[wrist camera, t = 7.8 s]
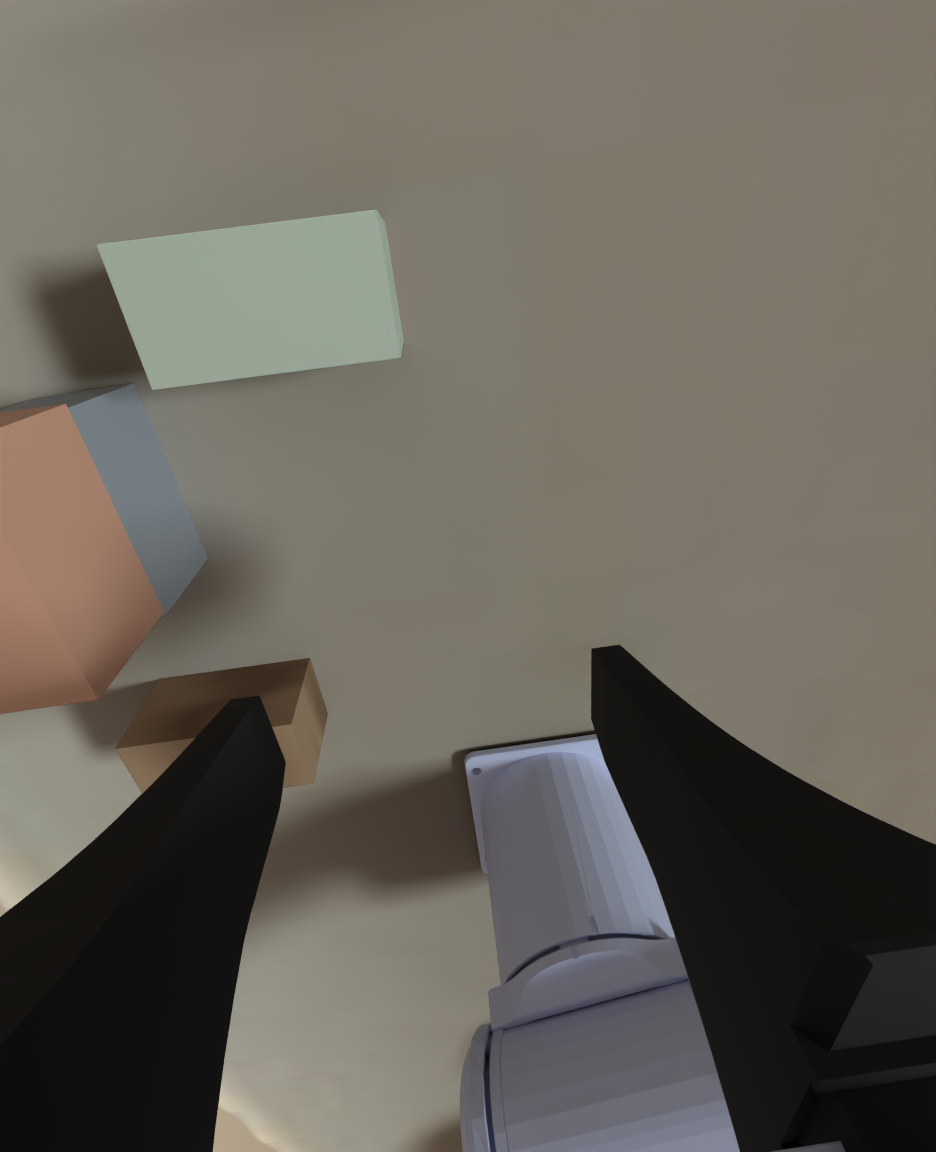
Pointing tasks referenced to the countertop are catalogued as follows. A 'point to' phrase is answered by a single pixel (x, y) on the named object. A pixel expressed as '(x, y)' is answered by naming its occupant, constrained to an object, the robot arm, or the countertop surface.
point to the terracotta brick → (62, 568)
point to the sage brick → (258, 298)
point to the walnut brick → (198, 699)
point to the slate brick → (136, 483)
